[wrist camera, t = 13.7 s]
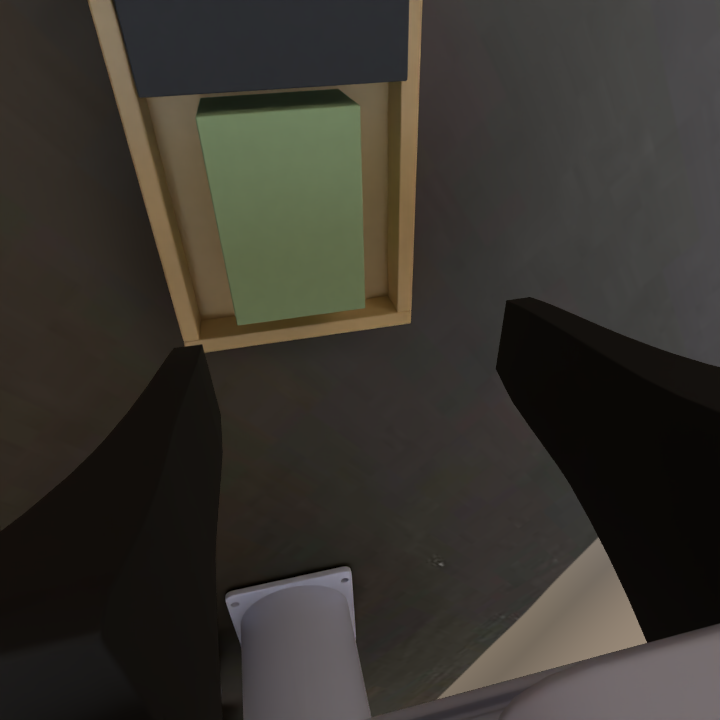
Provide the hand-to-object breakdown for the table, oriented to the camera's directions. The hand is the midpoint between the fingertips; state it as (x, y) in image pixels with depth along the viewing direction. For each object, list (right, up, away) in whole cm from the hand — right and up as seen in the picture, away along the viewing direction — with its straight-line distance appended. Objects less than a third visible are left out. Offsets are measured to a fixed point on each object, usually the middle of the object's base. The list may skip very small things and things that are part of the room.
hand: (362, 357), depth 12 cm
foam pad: (-3, +6, +6) cm, 9 cm away
